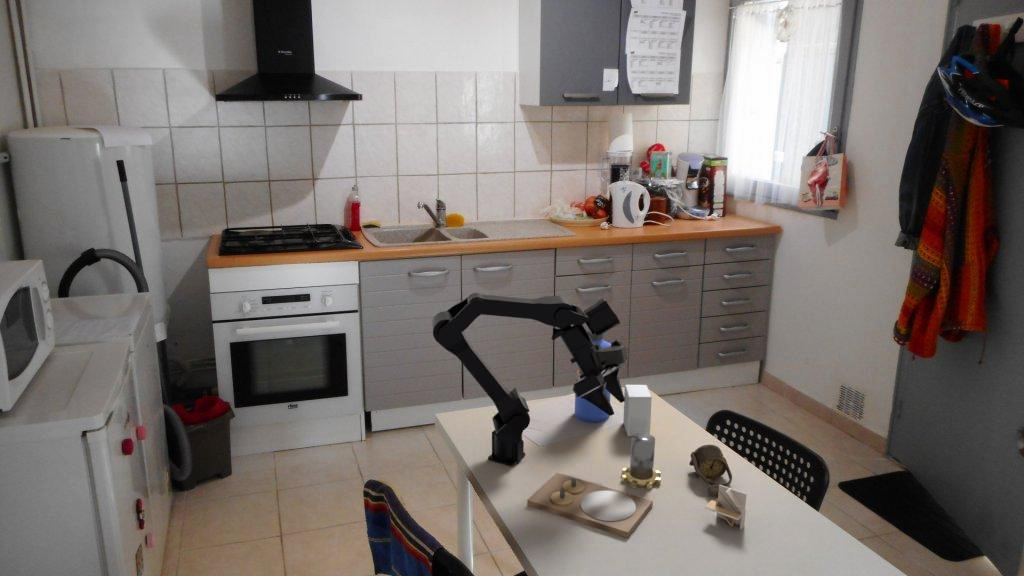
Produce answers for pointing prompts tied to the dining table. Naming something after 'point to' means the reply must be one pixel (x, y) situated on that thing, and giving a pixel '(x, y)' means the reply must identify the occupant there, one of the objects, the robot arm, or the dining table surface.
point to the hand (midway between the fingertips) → (617, 408)
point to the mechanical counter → (710, 466)
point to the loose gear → (642, 463)
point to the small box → (637, 409)
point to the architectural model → (729, 506)
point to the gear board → (591, 504)
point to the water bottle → (583, 407)
